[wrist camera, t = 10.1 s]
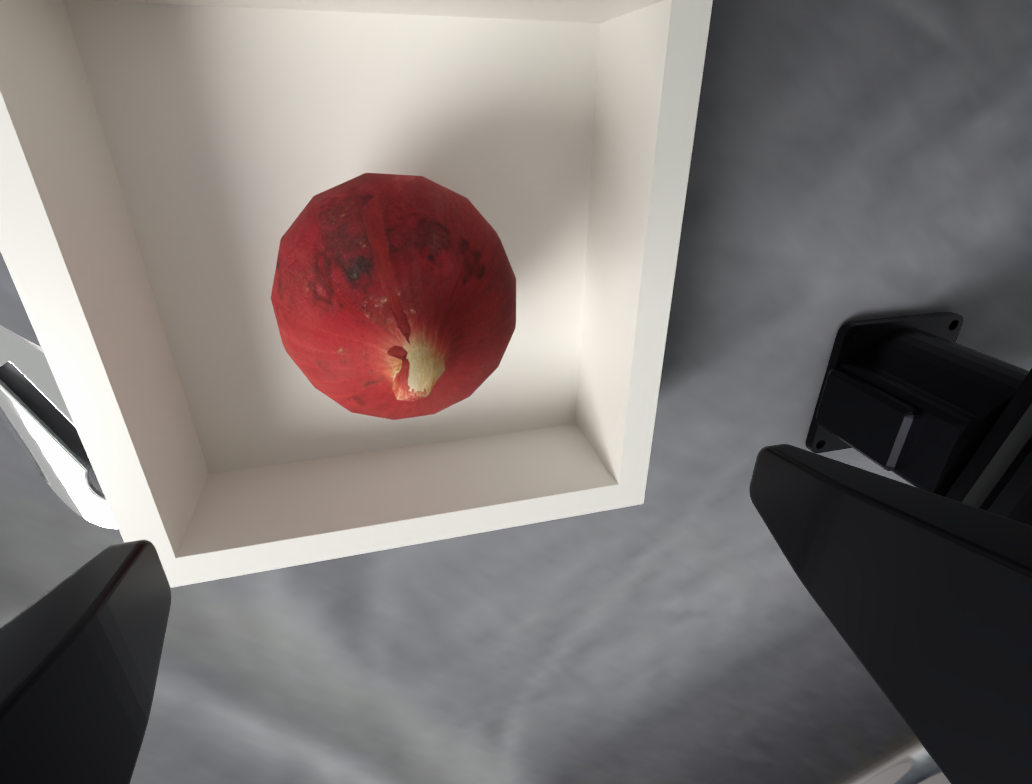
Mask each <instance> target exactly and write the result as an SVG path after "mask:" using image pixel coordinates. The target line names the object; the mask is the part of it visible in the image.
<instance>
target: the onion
mask: <svg viewBox="0 0 1032 784" xmlns="http://www.w3.org/2000/svg"><path fill="white" fill-rule="evenodd" d="M271 301H272V305H273V309H274V313H275V317H276V320H277V324H278V328H279V332H280V336H281V340H282V344H283V346H284V348H285V350H286V352H287V354H288V355H289V356H290V357H291V359H292V360H293V361H294V362H295V364H296V365H297V366H298V367H299V369H300V370H301V371H302V372H303V374H304V375H305V376H306V377H307V379H308V380H309V381H310V382H311V384H312V385H313V386H314V387H315V388H316V389H318V390H319V391H321V392H322V393H323V394H325V395H326V396H328V397H329V398H331V399H332V400H334V401H335V402H337V403H338V404H340V405H341V406H343V407H344V408H346V409H347V410H349V411H350V412H351V413H357V414H362V415H368V416H374V417H380V418H386V419H391V420H398V419H405V418H412V417H419V416H426V415H432V414H436V413H438V412H440V411H442V410H444V409H446V408H448V407H450V406H452V405H454V404H456V403H458V402H460V401H462V400H464V399H466V398H468V397H470V396H471V395H472V394H473V393H474V392H475V391H476V390H477V389H478V388H479V387H480V385H481V384H482V383H483V382H484V381H485V380H486V379H487V378H488V377H489V376H490V375H491V374H492V373H493V372H494V371H495V370H496V369H497V368H498V367H499V364H500V362H501V360H502V358H503V355H504V353H505V351H506V349H507V346H508V344H509V342H510V340H511V337H512V335H513V333H514V330H515V327H516V277H515V275H514V272H513V270H512V267H511V265H510V262H509V260H508V257H507V255H506V252H505V250H504V247H503V245H502V242H501V240H500V238H499V236H498V234H497V232H496V231H495V230H494V229H493V228H492V226H491V225H490V224H489V223H488V222H487V220H486V219H485V218H484V217H483V216H482V215H481V213H480V212H479V211H478V210H477V209H476V208H475V206H474V205H473V204H472V203H471V202H470V201H469V199H468V198H466V197H464V196H462V195H460V194H458V193H456V192H454V191H452V190H450V189H448V188H446V187H444V186H442V185H439V184H437V183H435V182H433V181H431V180H429V179H427V178H425V177H423V176H414V175H397V174H380V173H364V174H362V175H360V176H357V177H355V178H353V179H351V180H348V181H346V182H344V183H342V184H339V185H337V186H335V187H333V188H330V189H328V190H326V191H324V192H322V193H319V194H317V195H315V196H313V197H312V199H311V200H310V201H309V203H308V204H307V205H306V207H305V208H304V209H303V210H302V212H301V213H300V214H299V216H298V217H297V218H296V219H295V221H294V222H293V223H292V225H291V226H290V227H289V229H288V230H287V231H286V232H285V234H284V235H283V236H282V238H281V240H280V246H279V251H278V257H277V263H276V269H275V275H274V281H273V288H272V294H271Z"/></svg>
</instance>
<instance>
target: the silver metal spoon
mask: <svg viewBox="0 0 1032 784" xmlns="http://www.w3.org/2000/svg"><path fill="white" fill-rule="evenodd" d="M8 362H9V363H11V364H12V365H13V366H14V367H15V368H16V369H17V370H18V371H19V372H20V373H21V374H22V375H23V376H24V377H25V378H26V379H27V380H28V381H29V382H30V383H31V384H32V385H33V386H34V387H35V388H36V389H37V390H38V391H39V392H40V393H41V394H42V395H43V396H44V397H45V398H46V399H47V400H48V401H49V402H50V403H51V404H52V405H53V406H54V407H55V408H56V409H57V410H58V411H59V412H60V413H61V414H62V415H63V416H64V417H65V418H66V419H67V420H68V421H69V422H70V423H71V424H72V425H73V426H74V427H75V425H74V423H73V420H72V418H71V416H70V413H69V411H68V409H67V406H66V404H65V402H64V399H63V397H62V395H61V392H60V390H59V387H58V385H57V383H56V380H55V378H54V376H53V373H52V371H51V369H50V366H49V364H48V362H47V359H46V357H45V355H44V352H43V350H42V347H40V346H38V345H36V344H34V343H32V342H30V341H28V340H26V339H24V338H22V337H21V336H19V335H17V334H15V333H13V332H11V331H10V330H8V329H6V328H4V327H3V326H1V325H0V367H2V366H3V365H5V364H7V363H8ZM0 418H1V419H2V421H3V422H4V424H5V425H6V426H7V428H8V429H9V431H10V432H11V434H12V435H13V436H14V438H15V439H16V441H17V442H18V444H19V445H20V447H21V448H22V449H23V451H24V452H25V454H26V455H27V456H28V458H29V459H30V461H31V462H32V463H33V465H34V466H35V468H36V469H37V470H38V472H39V473H40V474H41V476H42V477H43V478H44V479H45V481H46V482H47V483H48V485H49V486H50V487H51V488H52V489H53V491H54V492H55V493H56V494H57V495H58V496H59V497H60V498H61V499H62V500H63V501H64V502H65V503H66V504H67V505H68V506H69V507H70V508H71V509H72V510H73V511H74V512H76V513H77V514H78V515H80V516H81V517H83V518H84V519H86V520H87V521H89V522H91V523H93V524H95V525H98V526H101V527H105V528H111V529H118V526H117V524H116V522H115V519H114V517H113V515H112V512H111V510H110V507H109V505H108V503H107V500H106V498H105V496H104V494H102V493H101V492H99V491H98V490H97V489H96V488H95V487H94V486H93V484H92V482H91V480H90V476H89V471H90V468H89V467H88V466H87V465H86V464H85V463H84V462H83V461H82V460H81V459H80V458H79V457H78V456H77V455H76V454H75V453H74V452H73V451H72V450H71V449H70V448H69V447H68V446H67V445H66V444H65V443H64V442H63V441H62V440H61V439H60V438H59V437H58V436H57V435H56V434H55V433H54V432H53V431H52V430H51V429H50V428H49V427H48V426H47V425H46V424H45V423H44V422H43V421H42V420H41V419H40V418H39V417H38V416H37V415H36V414H35V413H34V412H33V411H32V410H31V409H30V408H29V407H28V406H27V405H26V404H25V403H24V402H23V401H22V400H21V399H20V398H19V397H18V396H17V395H16V394H15V393H14V392H13V391H12V390H11V389H10V388H9V387H8V386H7V385H6V384H5V383H4V382H3V381H2V380H1V379H0ZM75 428H76V427H75Z"/></svg>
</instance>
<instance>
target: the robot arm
mask: <svg viewBox="0 0 1032 784" xmlns="http://www.w3.org/2000/svg"><path fill="white" fill-rule="evenodd" d="M962 323H963V317H962V316H961V315H959V314H956V313H953V312H944V313H934V314H925V315H915V316H905V317H895V318H886V319H876V320H866V321H857V322H849V323H846V324H844V325H843V326H842V327H841V328H840V329H839V331H838V333H837V336H836V339H835V343H834V346H833V350H832V353H831V357H830V360H829V364H828V367H827V371H826V374H825V377H824V381H823V384H822V388H821V391H820V395H819V398H818V402H817V405H816V408H815V412H814V415H813V419H812V422H811V426H810V429H809V433H808V436H807V439H806V447H807V448H808V449H810V450H811V451H812V452H814V453H812V452H809V451H806V450H803V449H800V448H797V447H794V446H791V445H788V444H780V445H773V446H766V447H764V448H762V449H761V450H760V451H759V453H758V455H757V459H756V463H755V467H754V471H753V475H752V479H751V483H750V497H751V500H752V502H753V504H754V506H755V507H756V509H757V511H758V512H759V514H760V516H761V517H762V519H763V520H764V522H765V524H766V525H767V527H768V529H769V530H770V532H771V534H772V535H773V537H774V539H775V540H776V542H777V543H778V545H779V547H780V548H781V550H782V552H783V553H784V555H785V557H786V558H787V560H788V562H789V563H790V565H791V566H792V568H793V570H794V571H795V573H796V574H797V576H798V577H799V579H800V580H801V582H802V583H803V585H804V586H805V588H806V589H807V590H808V592H809V593H810V595H811V596H812V597H813V599H814V600H815V601H816V603H817V604H818V605H819V607H820V608H821V609H822V611H823V612H824V613H825V615H826V616H827V617H828V619H829V620H830V621H831V623H832V624H833V625H834V627H835V628H836V629H837V631H838V632H839V634H840V635H841V636H842V638H843V639H844V640H845V642H846V643H847V644H848V646H849V647H850V648H851V650H852V651H853V652H854V654H855V655H856V656H857V658H858V659H859V660H860V662H861V663H862V664H863V666H864V667H865V669H866V670H867V671H868V673H869V674H870V675H871V677H872V678H873V679H874V681H875V682H876V683H877V685H878V686H879V687H880V689H881V690H882V691H883V693H884V694H885V695H886V697H887V698H888V699H889V701H890V702H891V703H892V705H893V706H894V708H895V709H896V710H897V712H898V713H899V714H900V716H901V717H902V718H903V720H904V721H905V722H906V724H907V725H908V726H909V728H910V729H911V730H912V732H913V733H914V734H915V736H916V737H917V738H918V740H919V741H920V743H921V744H922V745H923V747H924V748H925V749H926V751H927V752H928V753H929V755H930V756H931V757H932V759H933V760H934V761H935V763H936V764H937V765H938V767H939V768H940V769H941V771H942V772H943V773H944V775H945V776H946V778H947V779H948V780H949V781H950V783H951V784H1032V369H1031V370H1030V371H1027V370H1025V369H1022V368H1019V367H1017V366H1014V365H1012V364H1009V363H1006V362H1004V361H1001V360H998V359H996V358H993V357H991V356H988V355H985V354H983V353H980V352H978V351H975V350H972V349H970V348H967V347H964V346H962V345H959V344H957V343H955V341H956V339H957V336H958V334H959V331H960V328H961V326H962ZM846 448H854V449H855V450H857V451H858V452H860V453H861V454H863V455H864V456H866V457H867V458H869V459H870V460H872V461H873V462H875V463H876V464H878V465H879V466H881V467H882V468H884V469H885V470H888V471H892V472H894V473H895V474H897V475H898V476H900V477H901V478H903V479H904V480H906V481H907V482H909V483H910V484H912V485H913V486H915V487H913V486H910V485H908V484H905V483H902V482H899V481H896V480H893V479H890V478H887V477H884V476H881V475H878V474H875V473H872V472H869V471H866V470H863V469H860V468H857V467H854V466H851V465H848V464H845V463H842V462H839V461H836V460H833V459H830V458H827V457H824V456H821V455H818V454H815V453H822V452H828V451H834V450H840V449H846ZM170 605H171V589H170V585H169V582H168V579H167V577H166V574H165V572H164V569H163V566H162V564H161V561H160V559H159V556H158V553H157V551H156V548H155V546H154V545H153V544H152V543H151V542H150V541H148V540H138V541H131V542H124V543H118V544H114V545H111V546H109V547H108V548H106V549H105V550H104V551H102V552H101V553H100V554H98V555H97V556H96V557H94V558H93V559H92V560H90V561H89V562H88V563H86V564H85V565H84V566H82V567H81V568H80V569H78V570H77V571H76V572H74V573H73V574H72V575H70V576H69V577H68V578H66V579H65V580H64V581H62V582H61V583H60V584H58V585H57V586H56V587H54V588H53V589H52V590H50V591H49V592H48V593H46V594H45V595H44V596H42V597H41V598H40V599H38V600H37V601H36V602H34V603H33V604H32V605H31V606H29V607H28V608H27V609H25V610H24V611H23V612H21V613H20V614H19V615H17V616H16V617H15V618H13V619H12V620H11V621H9V622H8V623H7V624H5V625H4V626H3V627H1V628H0V784H130V781H131V777H132V774H133V771H134V768H135V764H136V761H137V758H138V755H139V751H140V748H141V745H142V742H143V738H144V734H145V731H146V727H147V724H148V720H149V715H150V710H151V706H152V701H153V696H154V690H155V685H156V680H157V675H158V669H159V664H160V659H161V653H162V648H163V643H164V637H165V632H166V627H167V621H168V616H169V611H170Z"/></svg>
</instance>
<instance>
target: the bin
mask: <svg viewBox="0 0 1032 784" xmlns="http://www.w3.org/2000/svg"><path fill="white" fill-rule="evenodd" d="M712 3H713V0H0V251H1V253H2V256H3V258H4V260H5V263H6V265H7V267H8V270H9V272H10V275H11V277H12V279H13V282H14V284H15V286H16V289H17V291H18V293H19V296H20V298H21V300H22V303H23V305H24V307H25V310H26V312H27V315H28V317H29V319H30V322H31V324H32V326H33V329H34V331H35V333H36V336H37V338H38V340H39V343H40V345H41V347H42V350H43V352H44V355H45V357H46V359H47V362H48V364H49V366H50V369H51V371H52V373H53V376H54V378H55V380H56V383H57V385H58V387H59V390H60V392H61V395H62V397H63V399H64V402H65V404H66V406H67V409H68V411H69V413H70V416H71V418H72V420H73V423H74V425H75V427H76V430H77V432H78V435H79V437H80V439H81V442H82V444H83V446H84V449H85V451H86V453H87V456H88V458H89V460H90V463H91V465H92V467H93V470H94V472H95V475H96V477H97V479H98V482H99V484H100V486H101V489H102V491H103V493H104V496H105V498H106V500H107V503H108V505H109V507H110V510H111V512H112V515H113V517H114V519H115V522H116V524H117V526H118V529H119V531H120V533H121V536H122V538H123V540H124V542H131V541H138V540H148V541H150V542H151V543H152V544H153V545H154V546H155V548H156V551H157V553H158V556H159V559H160V561H161V564H162V566H163V569H164V572H165V574H166V577H167V579H168V582H169V585H170V588H172V587H177V586H183V585H189V584H194V583H200V582H206V581H211V580H217V579H223V578H228V577H234V576H239V575H245V574H251V573H256V572H262V571H268V570H273V569H279V568H284V567H290V566H296V565H301V564H307V563H313V562H318V561H324V560H330V559H335V558H341V557H346V556H352V555H358V554H363V553H369V552H375V551H380V550H386V549H392V548H397V547H403V546H408V545H414V544H420V543H425V542H431V541H437V540H442V539H448V538H453V537H459V536H465V535H470V534H476V533H482V532H487V531H493V530H499V529H504V528H510V527H515V526H521V525H527V524H532V523H538V522H544V521H549V520H555V519H561V518H566V517H572V516H577V515H583V514H589V513H594V512H600V511H606V510H611V509H617V508H622V507H628V506H634V505H639V504H643V503H644V495H645V488H646V481H647V474H648V466H649V459H650V452H651V445H652V437H653V430H654V423H655V416H656V409H657V401H658V394H659V387H660V380H661V372H662V365H663V358H664V351H665V343H666V336H667V329H668V322H669V314H670V307H671V300H672V293H673V285H674V278H675V271H676V264H677V256H678V249H679V242H680V235H681V227H682V220H683V213H684V206H685V199H686V191H687V184H688V177H689V170H690V162H691V155H692V148H693V141H694V133H695V126H696V119H697V112H698V104H699V97H700V90H701V83H702V75H703V68H704V61H705V54H706V46H707V39H708V32H709V25H710V18H711V10H712ZM364 173H380V174H397V175H414V176H423V177H425V178H427V179H429V180H431V181H433V182H435V183H437V184H439V185H442V186H444V187H446V188H448V189H450V190H452V191H454V192H456V193H458V194H460V195H462V196H464V197H466V198H468V199H469V201H470V202H471V203H472V204H473V205H474V206H475V208H476V209H477V210H478V211H479V212H480V213H481V215H482V216H483V217H484V218H485V219H486V220H487V222H488V223H489V224H490V225H491V226H492V228H493V229H494V230H495V231H496V232H497V234H498V236H499V238H500V240H501V242H502V245H503V247H504V250H505V252H506V255H507V257H508V260H509V262H510V265H511V267H512V270H513V272H514V275H515V277H516V327H515V330H514V333H513V335H512V337H511V340H510V342H509V344H508V346H507V349H506V351H505V353H504V355H503V358H502V360H501V362H500V364H499V367H498V368H497V369H496V370H495V371H494V372H493V373H492V374H491V375H490V376H489V377H488V378H487V379H486V380H485V381H484V382H483V383H482V384H481V385H480V387H479V388H478V389H477V390H476V391H475V392H474V393H473V394H472V395H471V396H470V397H468V398H466V399H464V400H462V401H460V402H458V403H456V404H454V405H452V406H450V407H448V408H446V409H444V410H442V411H440V412H438V413H436V414H432V415H426V416H419V417H412V418H405V419H398V420H391V419H386V418H380V417H374V416H368V415H362V414H357V413H351V412H350V411H349V410H347V409H346V408H344V407H343V406H341V405H340V404H338V403H337V402H335V401H334V400H332V399H331V398H329V397H328V396H326V395H325V394H323V393H322V392H321V391H319V390H318V389H316V388H315V387H314V386H313V385H312V384H311V382H310V381H309V380H308V379H307V377H306V376H305V375H304V374H303V372H302V371H301V370H300V369H299V367H298V366H297V365H296V364H295V362H294V361H293V360H292V359H291V357H290V356H289V355H288V354H287V352H286V350H285V348H284V346H283V344H282V340H281V336H280V332H279V328H278V324H277V320H276V317H275V313H274V309H273V305H272V301H271V294H272V288H273V281H274V275H275V269H276V263H277V257H278V251H279V246H280V240H281V238H282V236H283V235H284V234H285V232H286V231H287V230H288V229H289V227H290V226H291V225H292V223H293V222H294V221H295V219H296V218H297V217H298V216H299V214H300V213H301V212H302V210H303V209H304V208H305V207H306V205H307V204H308V203H309V201H310V200H311V199H312V197H313V196H315V195H317V194H319V193H322V192H324V191H326V190H328V189H330V188H333V187H335V186H337V185H339V184H342V183H344V182H346V181H348V180H351V179H353V178H355V177H357V176H360V175H362V174H364Z"/></svg>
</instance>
